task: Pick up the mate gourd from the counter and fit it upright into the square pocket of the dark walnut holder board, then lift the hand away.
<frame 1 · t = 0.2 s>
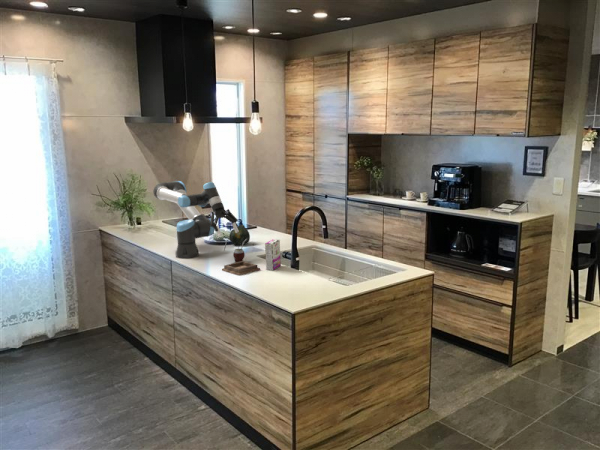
hand: (228, 233, 329), 17 cm above the worktop, tool tilted 35°, fingers open, 13 cm apart
mate gourd: (240, 262, 325), on the worktop
candy bar box: (273, 268, 310), on the worktop
squash: (239, 244, 374), on the worktop
holder board: (240, 270, 307), on the worktop
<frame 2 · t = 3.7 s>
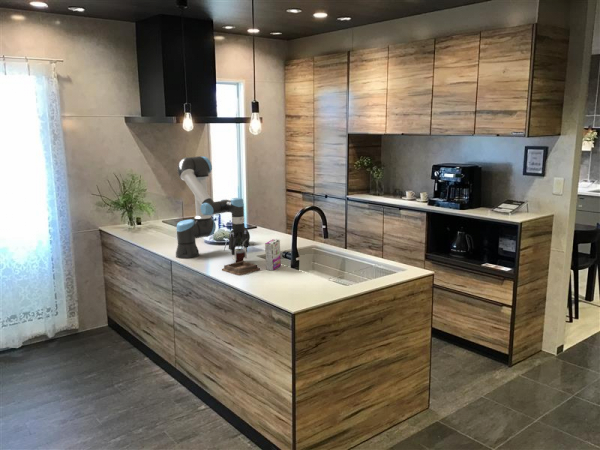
hand: (239, 258, 324), 2 cm above the worktop, tool pointing down, fingers open, 7 cm apart
mate gourd: (240, 262, 325), on the worktop, touching gripper
everything else where it was.
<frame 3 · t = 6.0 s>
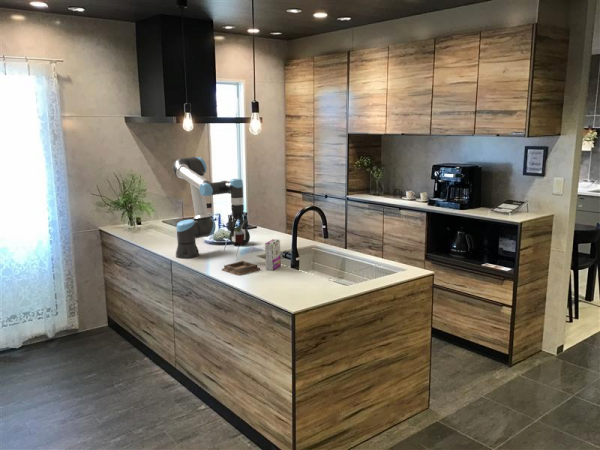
hand: (238, 240, 322), 14 cm above the worktop, tool pointing down, fingers closed on mate gourd, 7 cm apart
mate gourd: (239, 243, 323), point 12 cm above the worktop, touching gripper
everything else where it was.
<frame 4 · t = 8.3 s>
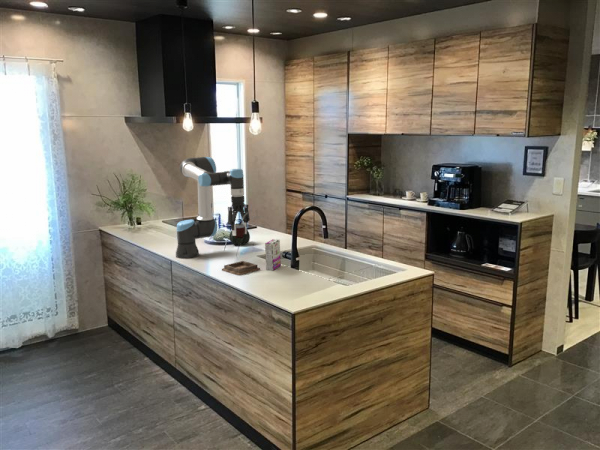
hand: (239, 234, 304), 21 cm above the worktop, tool pointing down, fingers closed on mate gourd, 7 cm apart
mate gourd: (240, 238, 305), point 19 cm above the worktop, touching gripper
everything else where it was.
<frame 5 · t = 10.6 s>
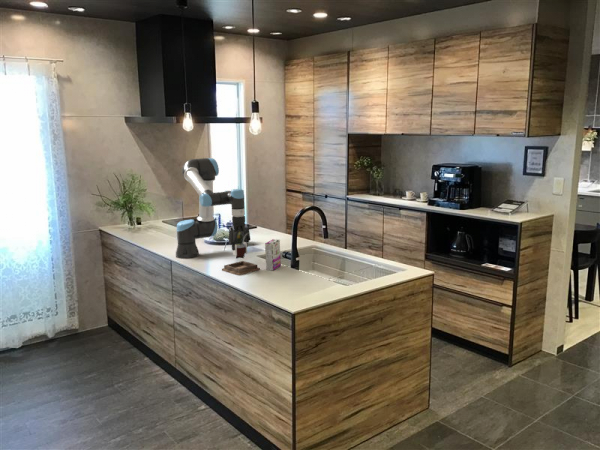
hand: (240, 254, 305), 10 cm above the worktop, tool pointing down, fingers closed on mate gourd, 7 cm apart
mate gourd: (241, 257, 305), point 7 cm above the worktop, touching gripper
everything else where it was.
when the fingers open (4 cm above the worktop, at t = 12.5 s): mate gourd drops 1 cm, resting on holder board.
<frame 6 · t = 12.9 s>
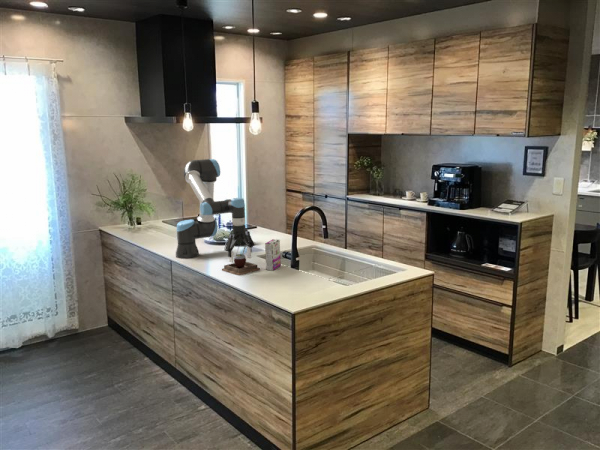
hand: (240, 260, 305), 6 cm above the worktop, tool pointing down, fingers open, 13 cm apart
mate gourd: (241, 268, 307), point 1 cm above the worktop, touching holder board
everything else where it was.
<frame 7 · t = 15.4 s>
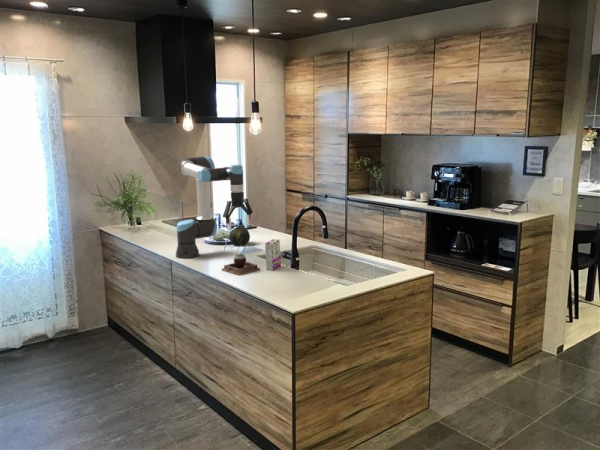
hand: (238, 227, 306), 25 cm above the worktop, tool pointing down, fingers open, 13 cm apart
nothing on the worktop moved.
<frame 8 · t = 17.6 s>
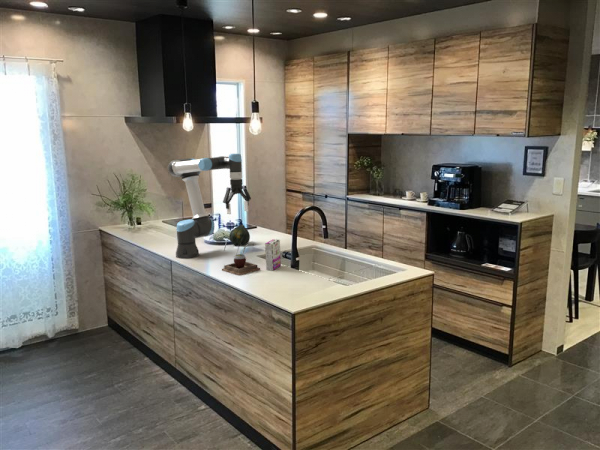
hand: (237, 212, 324), 31 cm above the worktop, tool pointing down, fingers open, 13 cm apart
nothing on the worktop moved.
at the end: mate gourd 0.3 cm off-centre on the holder board, point 0.8 cm above the holder board's base; mate gourd tilted 0°; the gripper is holding nothing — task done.
